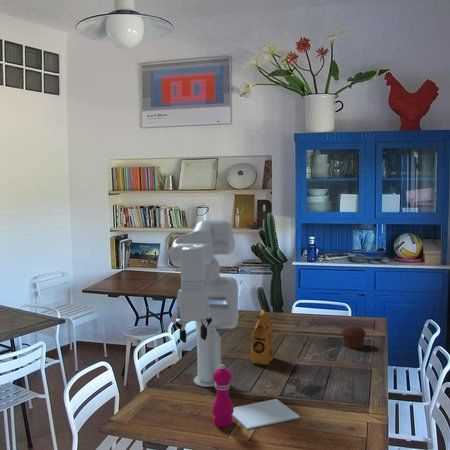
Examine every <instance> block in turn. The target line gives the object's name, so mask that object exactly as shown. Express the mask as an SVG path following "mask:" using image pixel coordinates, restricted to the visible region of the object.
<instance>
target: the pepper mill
mask: <svg viewBox="0 0 450 450" xmlns="http://www.w3.org/2000/svg"><path fill="white" fill-rule="evenodd" d="M213 378H214V381H215V382H216V383H215V386H214V388H215V389H216V395H215V396H216V397H215V400H214V402H213V403H212V407H211V413H212V414H213V424H214V426H217V427H220V428H221V427H222V428H226V427H228V426H229V427H230V426H231V425H232V424H233V416H232V414H233V412H234V409H233V408H234V405H233V402H232V400H231V398H230V395H229V394H230V393H229V390H230V388H231V383H230V382H231V380H232V373H231V371H230V370H229V369H228V368H226V366H225V364H222V363H221V365H220V369H217V370H216V371H215V372H214V375H213Z"/></svg>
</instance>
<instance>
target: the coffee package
mask: <svg viewBox="0 0 450 450" xmlns="http://www.w3.org/2000/svg"><path fill="white" fill-rule="evenodd" d="M256 318H257V319H258V321H257V322H256V324H255V326H254V328H253V331H252V334H251V340H250V350H251V351H250V354H251V356H250V358H251V363H252V364H256V365H264V366H265V365H266V366H269V365H270V363H271V362H272V361H273V359H274V335H273V326H272V323H271V319H270V318H269V317H268V315H267V313H266V312H265V310H264V309H262V310H261V311H260V314H258V315H257V316H256Z"/></svg>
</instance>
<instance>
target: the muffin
mask: <svg viewBox="0 0 450 450" xmlns="http://www.w3.org/2000/svg"><path fill="white" fill-rule="evenodd" d="M340 333H341V335H342V339H343V345H344V347H345V348H347V349H351V350H352V349H354V350H357V349H358V350H360V349H362V348H363V347H364V344H365V343H364V342H365V337H366V334H367V333H366V330H365V329H364V328H362V327H361V326H359V325H356V324H352V325H351V324H350V325H346V326H345V327H343V329H342V331H341V332H340Z"/></svg>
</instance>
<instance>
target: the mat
mask: <svg viewBox="0 0 450 450" xmlns="http://www.w3.org/2000/svg"><path fill="white" fill-rule="evenodd" d="M233 409H234V412H233V414H232V415H231V416H232V418H234V419H235V420H236V421H237V422H238V423H239V424H240V425H242V427H244V429H246V430H251V429H256V428H260V427H265V426H269V425H273V424H279V423H283V422H287V421H291V420H297V419H300V417H301V416H300V415H299V414H298V413H296V412H295V411H294V410H292V409H291V408H290V407H289V406H287V405H286V404H284V403H282V402H281V400H279V399H277V398H274V399H268V400H265V401H264V400H263V401H259V402H255V403H250V404H244V405H240V406H233Z"/></svg>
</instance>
